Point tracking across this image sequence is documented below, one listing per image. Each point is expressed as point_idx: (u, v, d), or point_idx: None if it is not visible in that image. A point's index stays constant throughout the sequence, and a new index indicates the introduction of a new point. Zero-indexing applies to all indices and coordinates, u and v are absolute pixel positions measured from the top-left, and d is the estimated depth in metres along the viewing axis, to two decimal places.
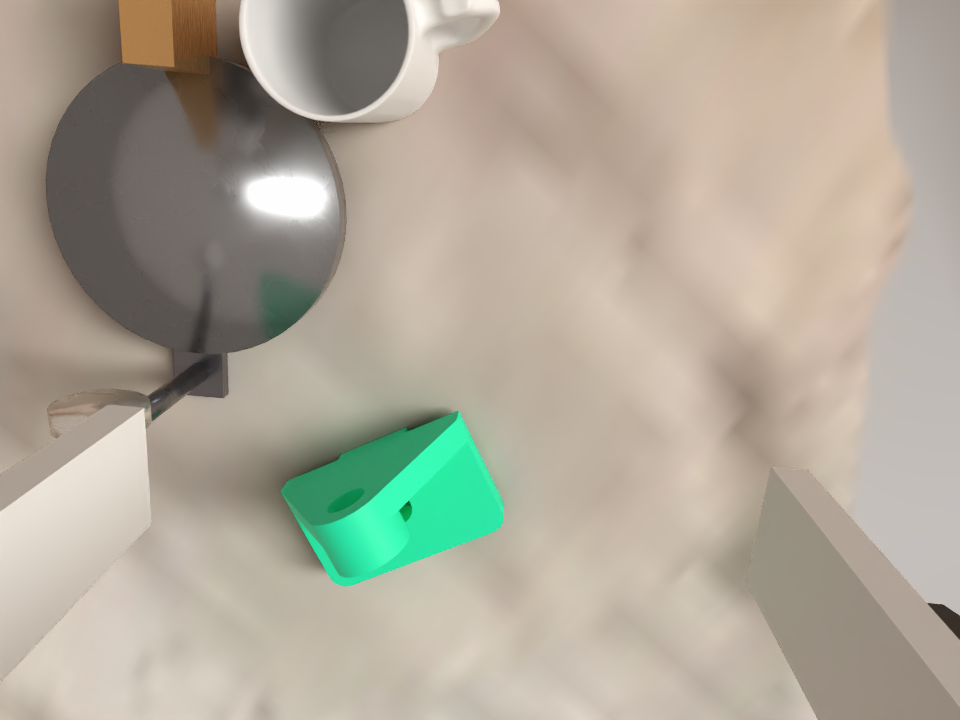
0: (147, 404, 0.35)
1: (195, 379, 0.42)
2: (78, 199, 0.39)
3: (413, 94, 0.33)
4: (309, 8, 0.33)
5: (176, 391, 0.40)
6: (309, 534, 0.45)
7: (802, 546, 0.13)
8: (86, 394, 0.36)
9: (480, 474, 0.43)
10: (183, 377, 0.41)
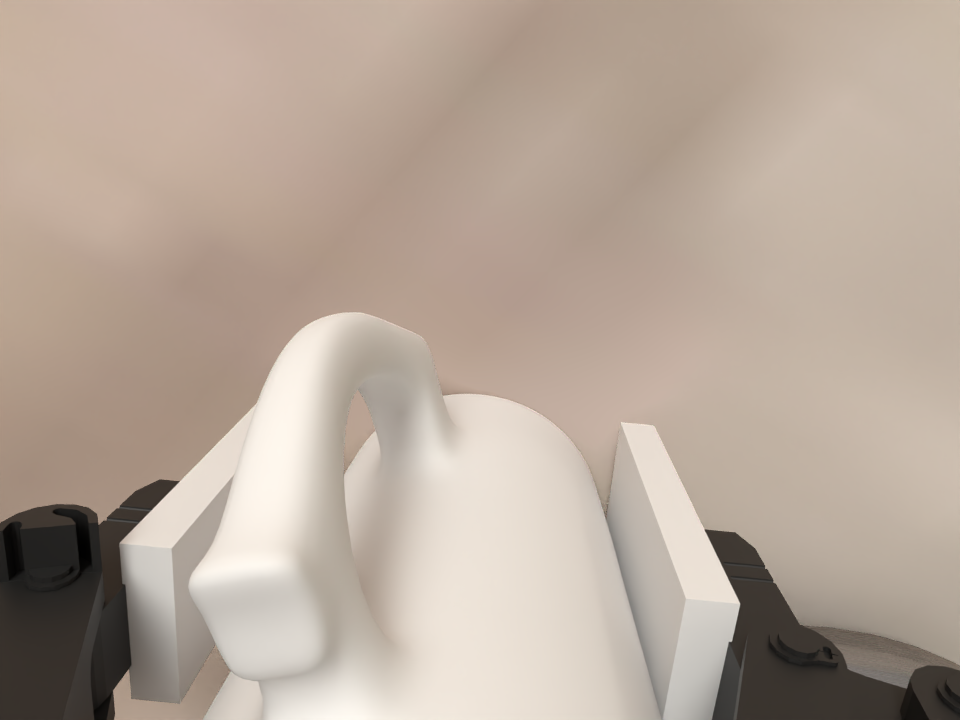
0: None
1: None
2: None
3: (581, 577, 0.11)
4: None
5: None
6: None
7: (630, 488, 0.14)
8: None
9: None
10: None
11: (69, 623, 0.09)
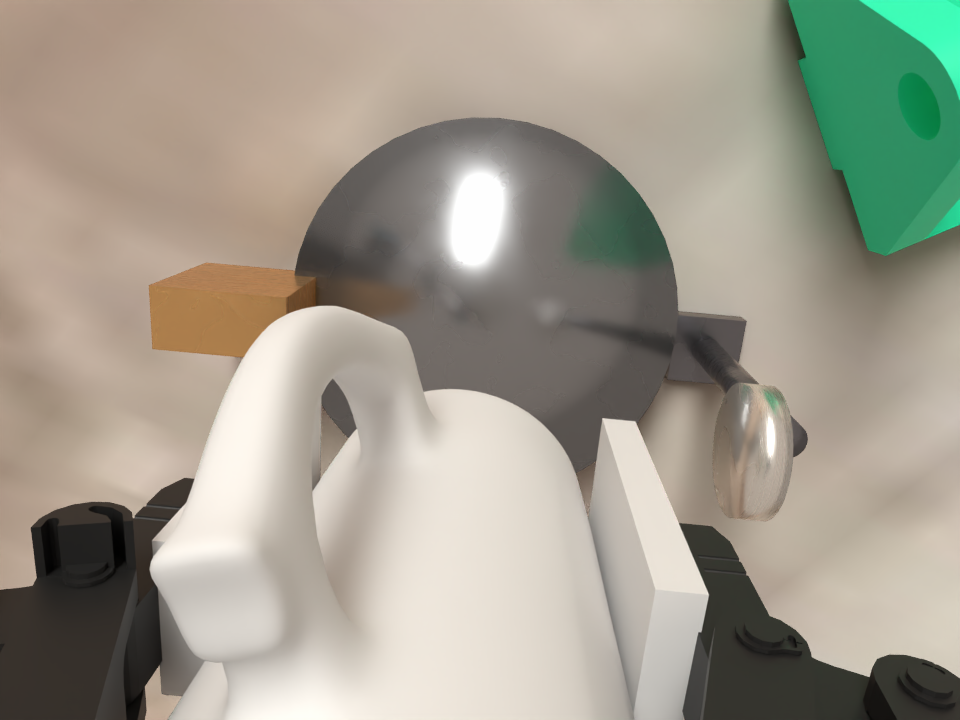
0: (739, 385, 0.23)
1: (714, 349, 0.30)
2: None
3: (554, 568, 0.11)
4: None
5: (727, 366, 0.28)
6: None
7: (609, 482, 0.15)
8: (716, 471, 0.25)
9: None
10: (709, 361, 0.29)
11: (103, 620, 0.09)
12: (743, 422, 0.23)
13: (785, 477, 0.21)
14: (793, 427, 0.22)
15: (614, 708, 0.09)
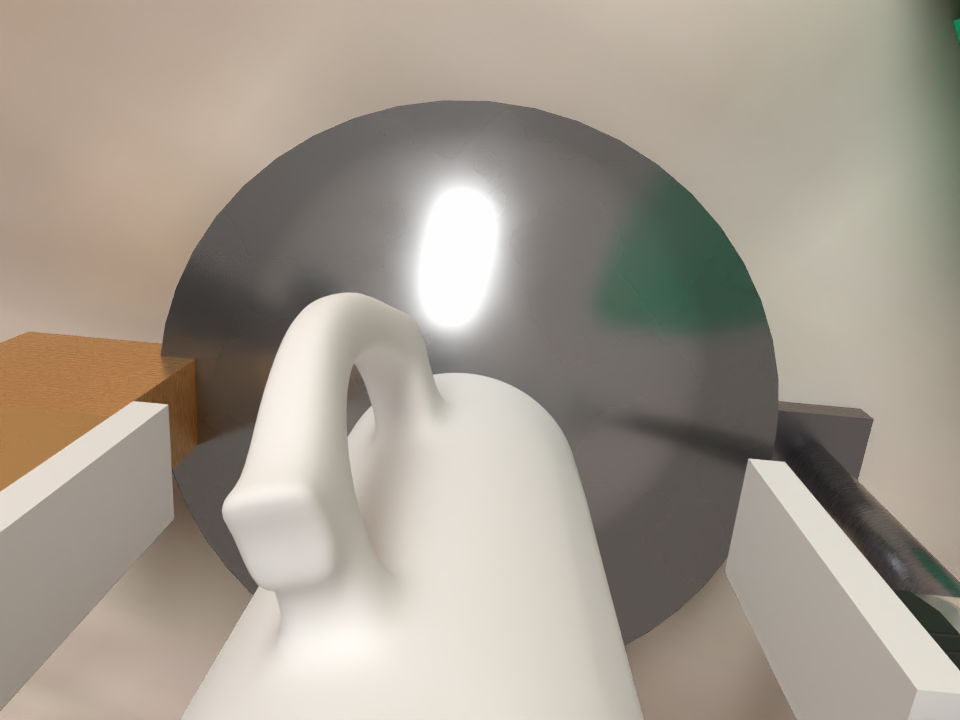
0: (944, 606, 0.12)
1: (832, 470, 0.19)
2: None
3: (555, 528, 0.12)
4: None
5: (868, 515, 0.17)
6: None
7: (775, 535, 0.13)
8: None
9: None
10: (826, 494, 0.18)
11: None
12: None
13: None
14: None
15: (610, 645, 0.10)
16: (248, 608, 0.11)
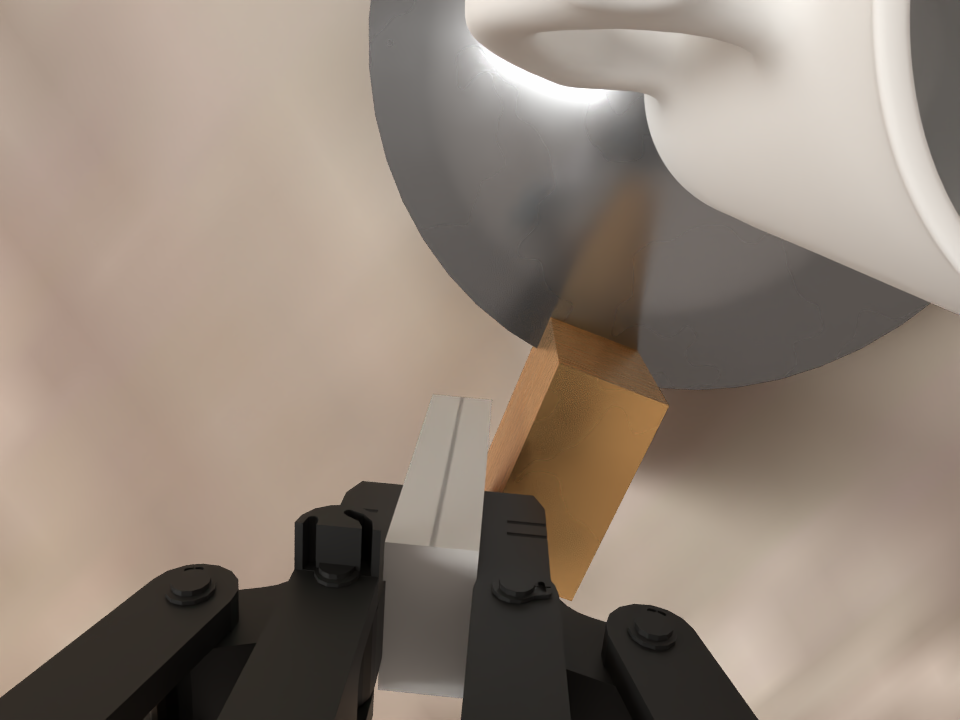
0: None
1: None
2: None
3: None
4: None
5: None
6: None
7: None
8: None
9: None
10: None
11: (346, 624, 0.09)
12: None
13: None
14: None
15: None
16: (769, 186, 0.09)
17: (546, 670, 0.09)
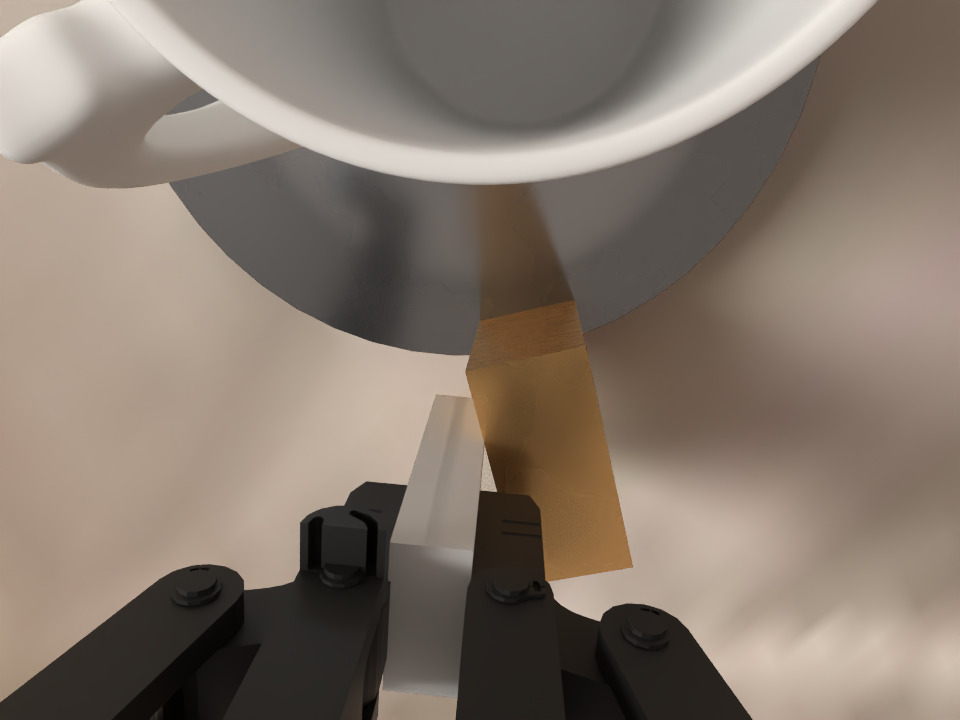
0: None
1: None
2: None
3: None
4: None
5: None
6: None
7: None
8: None
9: None
10: None
11: (352, 625, 0.09)
12: None
13: None
14: None
15: None
16: None
17: (541, 669, 0.09)
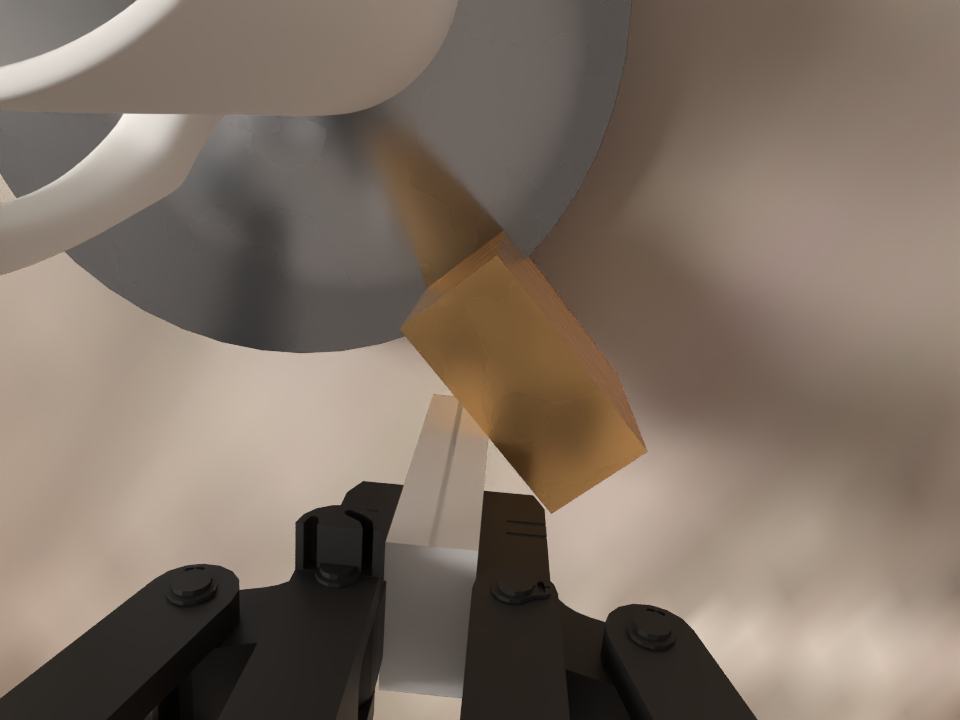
0: None
1: None
2: None
3: None
4: None
5: None
6: None
7: None
8: None
9: None
10: None
11: (347, 624, 0.09)
12: None
13: None
14: None
15: None
16: (181, 113, 0.09)
17: (545, 670, 0.09)
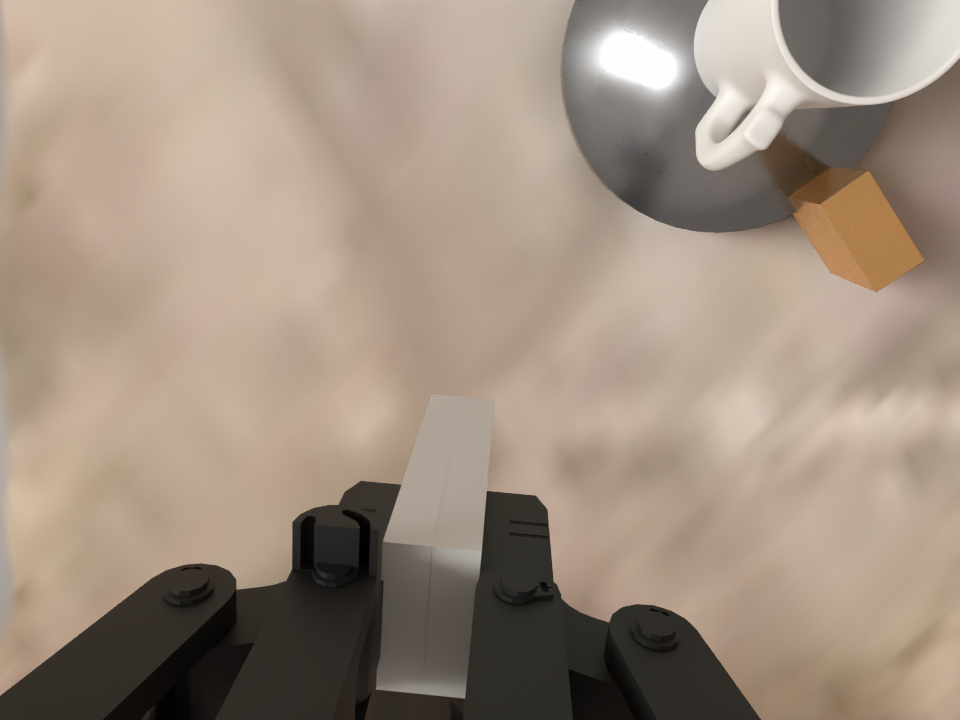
0: None
1: None
2: None
3: (727, 25, 0.28)
4: (879, 14, 0.28)
5: None
6: None
7: None
8: None
9: None
10: None
11: (344, 624, 0.09)
12: None
13: None
14: None
15: None
16: None
17: (548, 670, 0.09)
